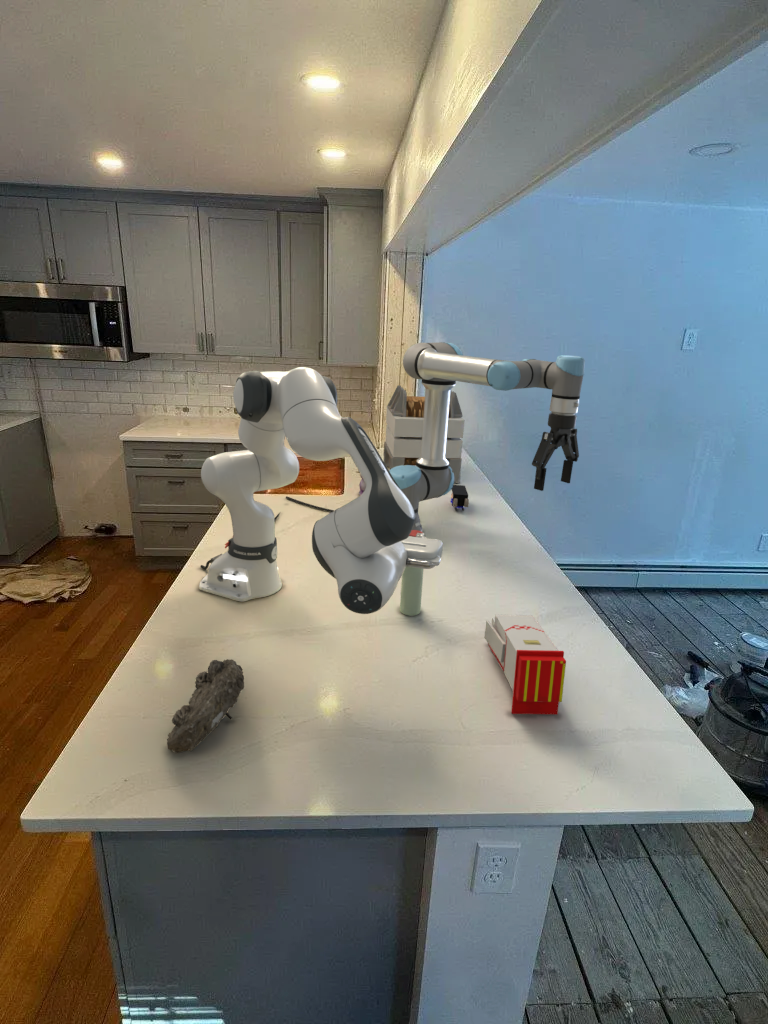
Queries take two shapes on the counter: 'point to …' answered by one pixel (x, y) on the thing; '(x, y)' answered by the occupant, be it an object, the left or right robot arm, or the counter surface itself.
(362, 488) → the figurine
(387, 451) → the white storage crate
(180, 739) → the fossil
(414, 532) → the cap
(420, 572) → the bottle
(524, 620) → the toy
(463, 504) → the figurine character
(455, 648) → the counter surface
